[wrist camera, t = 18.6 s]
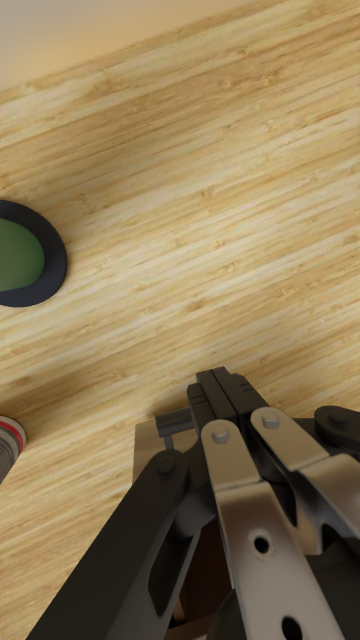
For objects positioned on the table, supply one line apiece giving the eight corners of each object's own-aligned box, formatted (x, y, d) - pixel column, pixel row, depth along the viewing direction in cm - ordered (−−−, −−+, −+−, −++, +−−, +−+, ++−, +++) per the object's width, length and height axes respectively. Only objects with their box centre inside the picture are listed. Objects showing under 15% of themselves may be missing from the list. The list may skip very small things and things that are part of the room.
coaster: (-19, 315, 18) (-23, 316, 17) (-66, 210, 16) (-72, 208, 15) (80, 295, 19) (78, 296, 18) (48, 194, 17) (45, 191, 16)
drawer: (123, 381, 20) (107, 465, 12) (248, 351, 22) (314, 407, 13) (165, 529, 26) (175, 659, 17) (262, 498, 27) (316, 604, 19)
